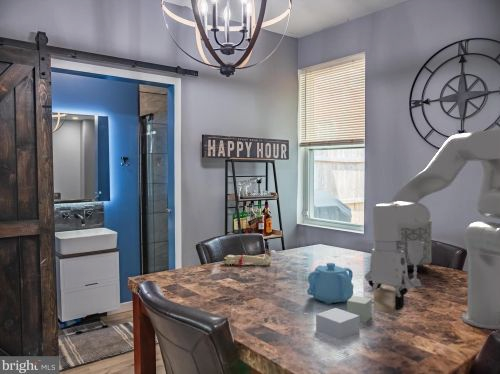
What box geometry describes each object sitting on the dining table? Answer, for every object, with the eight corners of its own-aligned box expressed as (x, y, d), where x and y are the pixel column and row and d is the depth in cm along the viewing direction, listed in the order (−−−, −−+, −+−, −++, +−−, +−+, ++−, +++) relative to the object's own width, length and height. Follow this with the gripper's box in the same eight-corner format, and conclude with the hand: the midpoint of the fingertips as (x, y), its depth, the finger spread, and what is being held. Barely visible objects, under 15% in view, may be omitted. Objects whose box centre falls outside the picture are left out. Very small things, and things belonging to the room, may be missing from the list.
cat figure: (270, 265, 209) (224, 261, 212) (272, 249, 209) (225, 244, 212) (269, 270, 199) (220, 265, 202) (270, 253, 199) (221, 248, 202)
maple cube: (403, 309, 117) (403, 289, 117) (392, 315, 113) (392, 294, 113) (385, 304, 122) (384, 285, 121) (374, 309, 118) (373, 289, 118)
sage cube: (371, 317, 130) (371, 298, 130) (365, 322, 125) (365, 303, 125) (353, 313, 133) (353, 295, 133) (347, 318, 128) (347, 300, 128)
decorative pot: (301, 302, 146) (301, 265, 145) (318, 290, 159) (317, 257, 159) (345, 309, 137) (345, 270, 136) (358, 297, 151) (358, 261, 150)
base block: (359, 332, 118) (359, 315, 118) (340, 340, 112) (340, 322, 112) (335, 323, 125) (335, 307, 125) (316, 330, 119) (316, 314, 119)
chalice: (425, 287, 162) (426, 243, 162) (408, 286, 164) (408, 243, 163) (421, 282, 170) (422, 240, 169) (405, 282, 171) (405, 240, 170)
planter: (427, 276, 180) (427, 223, 179) (371, 269, 193) (371, 220, 192) (434, 265, 201) (434, 218, 201) (383, 260, 214) (383, 215, 214)
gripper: (422, 247, 112) (423, 310, 113) (368, 240, 126) (370, 297, 126) (408, 251, 108) (410, 317, 108) (354, 244, 121) (356, 302, 122)
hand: (388, 305), depth 117 cm, fingers closed on maple cube, 6 cm apart
